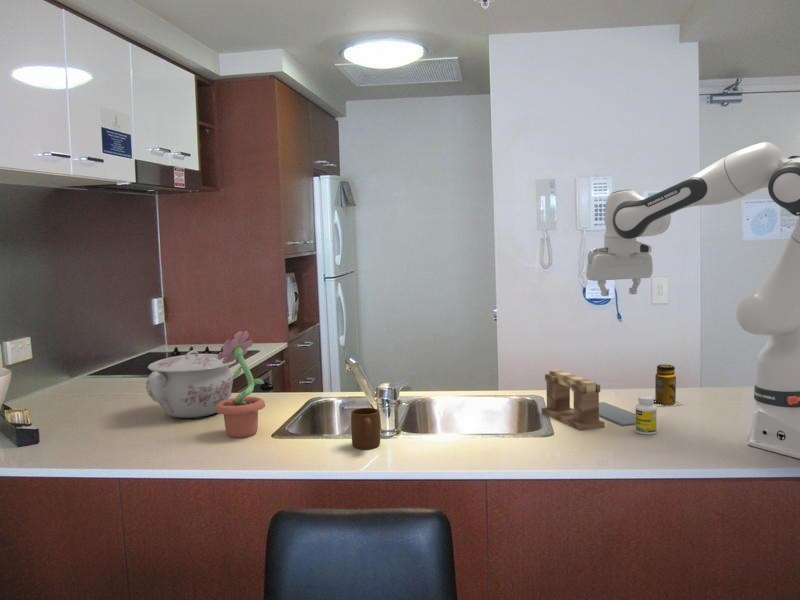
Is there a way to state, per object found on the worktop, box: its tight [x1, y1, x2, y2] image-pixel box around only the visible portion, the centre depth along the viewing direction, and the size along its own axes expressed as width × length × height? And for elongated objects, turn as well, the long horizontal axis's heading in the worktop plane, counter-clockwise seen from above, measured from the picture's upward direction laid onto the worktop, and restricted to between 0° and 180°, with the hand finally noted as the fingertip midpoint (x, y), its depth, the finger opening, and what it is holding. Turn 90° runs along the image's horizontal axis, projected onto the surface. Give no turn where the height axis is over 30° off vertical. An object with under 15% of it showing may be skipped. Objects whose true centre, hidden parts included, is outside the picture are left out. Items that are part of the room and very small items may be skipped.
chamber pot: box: [145, 349, 237, 420], centre depth 230 cm, size 28×28×21 cm
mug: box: [350, 407, 381, 450], centre depth 188 cm, size 12×8×9 cm, turn 9°
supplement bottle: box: [634, 395, 657, 436], centre depth 195 cm, size 5×5×10 cm
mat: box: [599, 401, 636, 427], centre depth 214 cm, size 24×10×1 cm, turn 18°
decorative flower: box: [215, 330, 266, 439], centre depth 204 cm, size 15×14×30 cm
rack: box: [541, 373, 606, 431], centre depth 209 cm, size 21×8×12 cm, turn 18°
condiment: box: [653, 364, 682, 407], centre depth 225 cm, size 7×8×12 cm
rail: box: [548, 369, 597, 394], centre depth 209 cm, size 20×3×3 cm, turn 18°
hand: (618, 294), depth 207 cm, fingers open, 8 cm apart
